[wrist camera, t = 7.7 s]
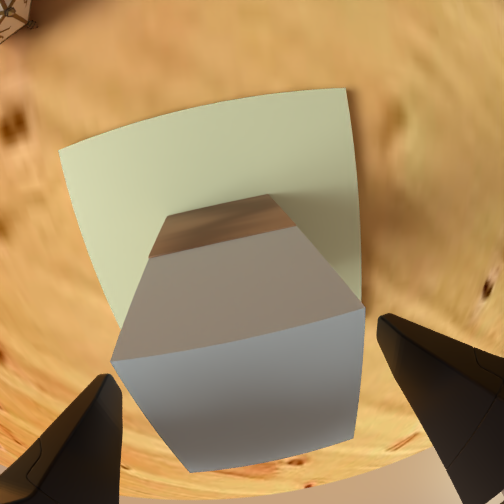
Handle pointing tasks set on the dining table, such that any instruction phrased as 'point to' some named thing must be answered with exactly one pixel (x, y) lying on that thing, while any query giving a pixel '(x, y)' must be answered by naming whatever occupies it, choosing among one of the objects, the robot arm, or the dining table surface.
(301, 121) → the base board
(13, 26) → the game die
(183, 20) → the dining table surface
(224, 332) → the grey block
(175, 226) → the walnut block
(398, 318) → the robot arm
